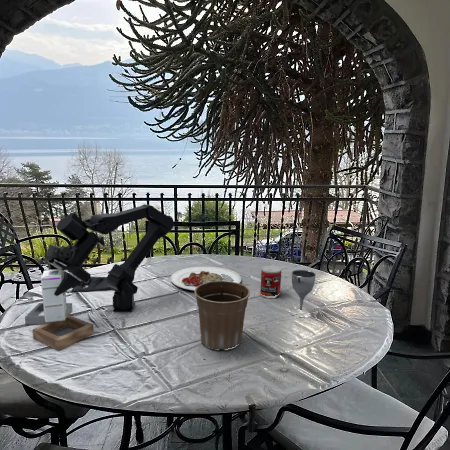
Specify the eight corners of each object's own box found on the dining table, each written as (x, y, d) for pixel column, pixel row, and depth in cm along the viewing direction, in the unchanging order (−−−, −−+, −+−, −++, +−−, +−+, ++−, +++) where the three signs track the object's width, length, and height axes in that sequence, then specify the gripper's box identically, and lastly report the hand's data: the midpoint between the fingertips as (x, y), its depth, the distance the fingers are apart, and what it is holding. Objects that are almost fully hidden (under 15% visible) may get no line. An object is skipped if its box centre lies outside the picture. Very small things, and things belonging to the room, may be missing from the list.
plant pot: (229, 362, 105) (231, 306, 102) (182, 344, 114) (183, 292, 110) (257, 337, 119) (259, 288, 116) (213, 323, 127) (214, 277, 124)
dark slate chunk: (125, 293, 151) (125, 281, 150) (67, 293, 150) (66, 281, 149) (132, 279, 166) (131, 269, 165) (79, 279, 165) (78, 268, 164)
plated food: (253, 279, 171) (254, 271, 170) (215, 301, 146) (215, 292, 145) (198, 266, 186) (198, 259, 185) (155, 284, 161) (155, 276, 161)
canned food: (257, 296, 151) (259, 269, 148) (263, 290, 158) (264, 264, 156) (276, 300, 148) (278, 272, 145) (282, 293, 155) (283, 266, 153)
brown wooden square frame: (68, 323, 125) (67, 314, 124) (93, 333, 118) (93, 324, 118) (33, 338, 115) (32, 329, 114) (59, 350, 108) (58, 340, 108)
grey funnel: (314, 311, 139) (317, 271, 135) (309, 320, 132) (312, 278, 128) (292, 307, 142) (295, 268, 139) (286, 315, 135) (289, 274, 132)
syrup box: (65, 320, 117) (62, 274, 113) (44, 322, 115) (40, 276, 112) (67, 312, 122) (64, 268, 119) (46, 314, 120) (43, 269, 117)
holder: (72, 309, 134) (71, 303, 134) (61, 324, 124) (60, 317, 123) (39, 309, 134) (39, 302, 133) (25, 324, 123) (24, 317, 122)
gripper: (49, 228, 122) (15, 270, 116) (78, 240, 110) (42, 287, 104) (74, 248, 129) (43, 288, 124) (104, 260, 117) (72, 305, 111)
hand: (49, 291), depth 115 cm, fingers closed on syrup box, 7 cm apart
